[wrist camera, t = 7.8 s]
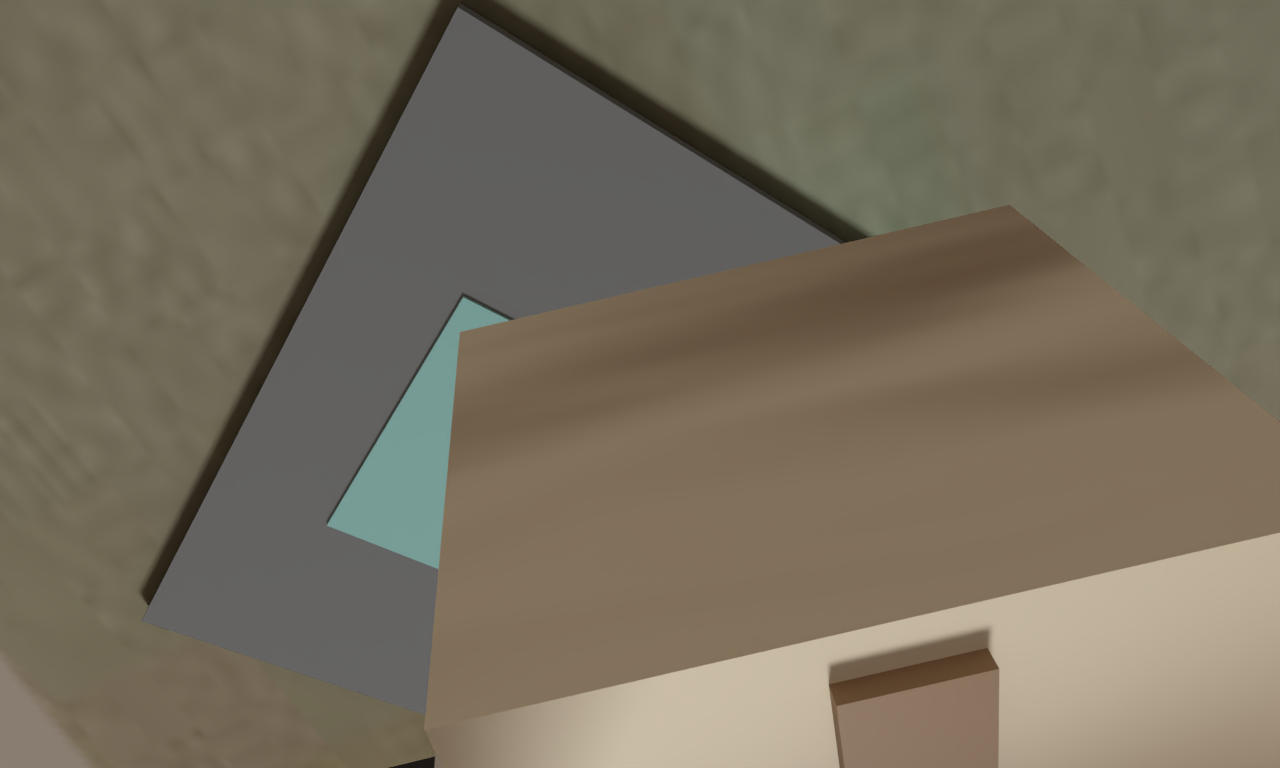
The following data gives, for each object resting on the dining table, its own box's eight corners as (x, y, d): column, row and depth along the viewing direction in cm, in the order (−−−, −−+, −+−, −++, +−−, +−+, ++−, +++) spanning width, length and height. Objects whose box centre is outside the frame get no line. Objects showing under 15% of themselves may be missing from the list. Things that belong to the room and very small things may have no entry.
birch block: (459, 331, 12) (421, 753, 7) (1009, 204, 12) (1408, 525, 7) (584, 699, 16) (625, 1156, 10) (1004, 603, 16) (1257, 1012, 10)
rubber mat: (459, 2, 23) (457, 7, 22) (951, 307, 28) (960, 318, 28) (148, 607, 31) (140, 623, 31) (569, 749, 37) (570, 765, 36)
